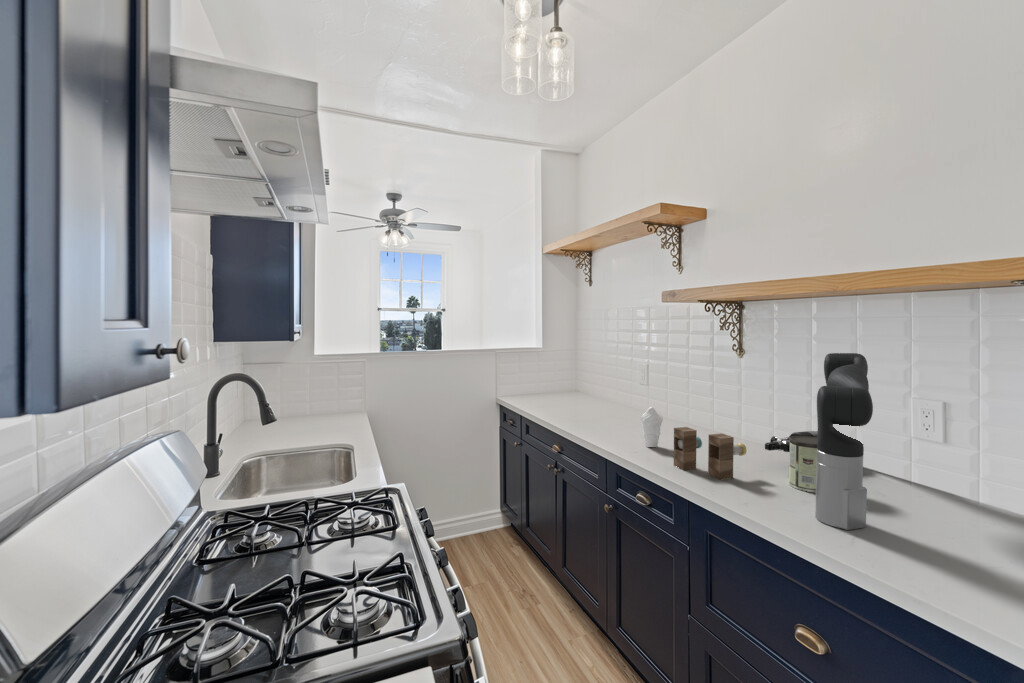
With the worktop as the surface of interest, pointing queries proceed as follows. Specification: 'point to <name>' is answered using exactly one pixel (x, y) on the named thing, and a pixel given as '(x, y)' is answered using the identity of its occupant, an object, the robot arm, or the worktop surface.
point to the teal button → (698, 443)
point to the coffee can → (803, 463)
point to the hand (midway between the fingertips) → (766, 446)
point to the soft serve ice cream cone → (651, 427)
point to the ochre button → (739, 449)
